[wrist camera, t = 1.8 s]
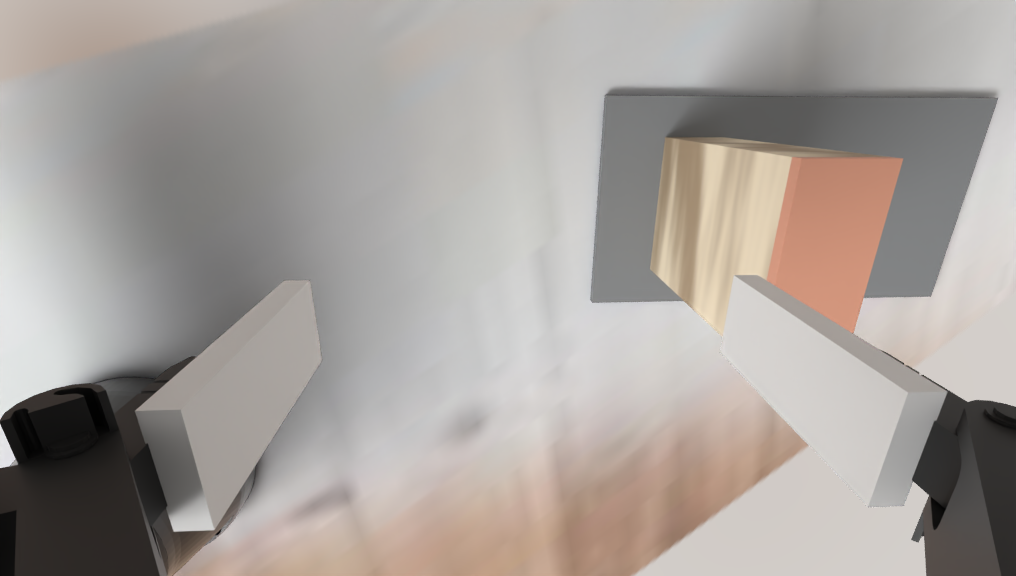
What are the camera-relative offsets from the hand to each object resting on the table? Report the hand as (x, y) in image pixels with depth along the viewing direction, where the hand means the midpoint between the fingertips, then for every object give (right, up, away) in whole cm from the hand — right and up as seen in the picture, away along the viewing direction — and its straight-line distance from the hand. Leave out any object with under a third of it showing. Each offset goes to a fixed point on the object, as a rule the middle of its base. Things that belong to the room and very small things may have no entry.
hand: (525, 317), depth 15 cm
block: (+12, +7, +18) cm, 22 cm away
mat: (+19, +7, +19) cm, 27 cm away
